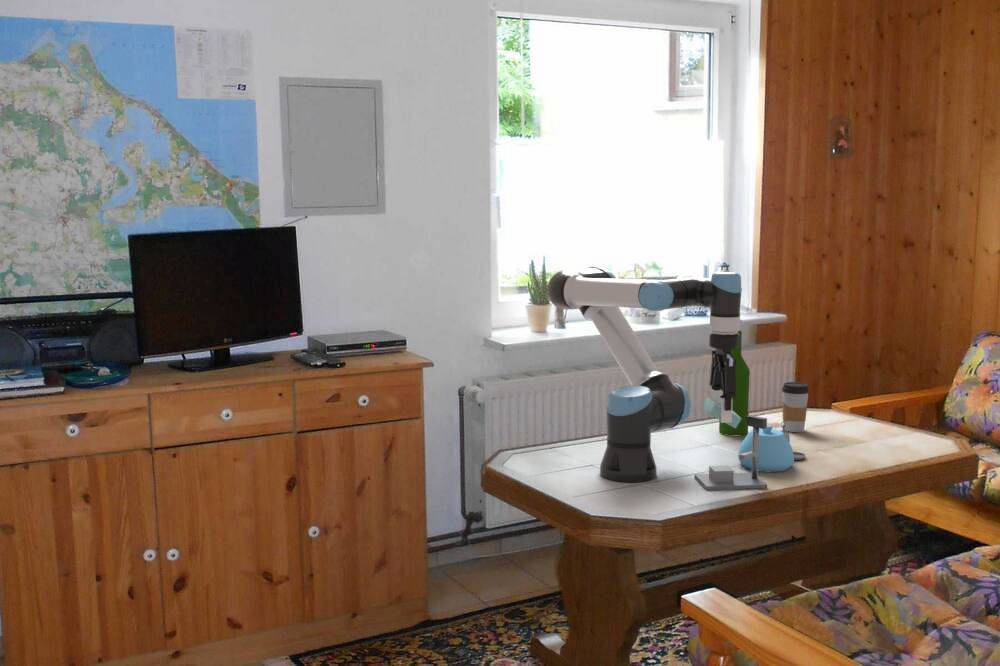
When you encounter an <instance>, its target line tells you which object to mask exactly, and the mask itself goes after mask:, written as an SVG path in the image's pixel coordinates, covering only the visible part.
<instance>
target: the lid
mask: <svg viewBox="0 0 1000 666" xmlns="http://www.w3.org/2000/svg"><path fill="white" fill-rule="evenodd" d="M701 408H702V409H703V410H705V412H706V413H708V415H710V416H711V417H713V418H715V419H717V420H721V404H719V403H717V402H716V401H714V400H712V398H711V397H707V398H706V400H705V401H704V402H703V404H702V406H701ZM741 419H742V418H740V417H739V416H738V415H737V414H736V413H735V412H734V411H732V423H726V424H728V425H730V426H732V427H734V428H736V427H737V426H738V424H739V422H740V421H741Z"/></svg>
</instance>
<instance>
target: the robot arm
mask: <svg viewBox="0 0 1000 666" xmlns="http://www.w3.org/2000/svg"><path fill="white" fill-rule="evenodd" d="M742 291H743V289H742V276H741V274H740V273H739V272H733V271H715V272H713V273H712V274H711V278H705V277H697V276H696V277H694V276H691V275H688V276H684V275H683V276H677V277H676V278H674V279H663V280H662V279H631V278H630V279H629V278H624V279H623V278H616V276H615V275H614V273H613V272H612V271H610V270H609V269H607V268H605V267H598V266H597V267H596V266H590V267H587V268H573V269H572V268H570V269H569V268H568V269H563V270H560V271H557V272H556V273H555V274H553V275H552V276H551V278H550V279H549V280H548V284H547V289H546V293H547V296H548V299H549V301H550V302H551V304H552V305H554V306H555V307H556V308H557V309H560V310H569V311H570V310H578V309H579V311H580V313H581V315H582V316H583V318H584V319H585V321H592V323H593V324H594V326H595V328H596V329H597V330H598V333H599V334H600V336H601V338H602V340H603V341H604V343H605V344H606V346H607V348H608V349H609V351H610V353H611V354H612V356H613V357H614V359H615V361H616V363H617V364H618V366H619V367H620V370H621V371H622V372H623V374H624V376H625V377H626V379H627V381H628V382H629V384H630V385H629V386H621V387H620V386H619V387H617V388H616V389H613V390H612V391H610V393H609V394H608V397H607V405H606V411H607V412H606V422H607V423H606V424H607V425H606V448H605V450H604V454H603V456H602V460H601V463H600V468H599V475H600V476H601V477H603V478H605V479H607V480H611V481H615V482H621V483H622V482H624V483H640V482H641V483H642V482H647V481H652V480H653V479H655V478H656V477H657V471H658V470H657V469H658V467H657V464H656V461H655V458H654V455H653V452H652V448H651V444H652V443H651V440H652V439H651V437H652V436H651V435H652V433H655V432H658V431H662V430H663V431H664V430H667V429H673V428H675V427H677V426H680V425H682V424H684V423H685V422H686V420H688V418H689V415H690V412H691V407H692V402H691V396H690V394H689V392H688V391H687V389H686V388H685V387H684V386H683V385H681V384H678V383H673V382H672V380H671V378H670V377H669V376H668V375H667V373H666V372H660V371H659V370H658V368H657V366H656V365H655V364H654V362H653V361H652V359H651V357H650V355H649V354H648V352H647V351H646V349H645V347H644V346H643V344H642V342H641V341H640V340H639V338H638V336H637V335H636V333H635V331H634V330H633V328H632V326H631V325H630V323H629V321H628V320H627V318H626V317H625V314H623V312H622V311H621V309H620V308H633V309H646V310H648V311H650V312H651V311H652V312H658V311H659V312H661V311H662V312H663V311H664V310H672V309H679V308H687V307H689V308H690V307H703V308H709V310H710V311H709V312H710V314H709V330H710V332H709V343H708V344H709V345H708V346H709V347H711V348H712V350H711V366H710V367H711V368H710V377H709V386H711V399H712V400H714V401H716V402H717V403H719V404H721V423H732V404H733V397H736V369H735V367H736V358H733V355H732V349H735V348H738V347H739V334H738V333H737V332H738V331H740V327H741V326H740V325H741V323H742V319H741V301H742V300H741V299H742ZM720 389H722V390H720Z"/></svg>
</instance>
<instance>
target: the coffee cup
mask: <svg viewBox="0 0 1000 666" xmlns="http://www.w3.org/2000/svg"><path fill="white" fill-rule="evenodd" d="M781 388H782V389H781V395H782V396H781V397H782V404H781V405H782V422H783V423H782V426H783V425H785V423H786V426H785V428H784V429H785V430H787V431H789V432H788V433H792V432H800V433H803V432H804V430H805V424H806V420H807V410H808V401H809V400H808V399H809V393H810V388H809V385H808V384H807V383H803V382H797V381H789V382H784V383H783V385H782V387H781ZM784 422H785V423H784ZM802 431H803V432H802Z"/></svg>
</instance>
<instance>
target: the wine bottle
mask: <svg viewBox="0 0 1000 666" xmlns="http://www.w3.org/2000/svg"><path fill="white" fill-rule="evenodd" d="M742 332H743V331H742V330H739V331H738V332H737V333H738V334H739V347H738V348H735V349H732V355H733V358H736V367H735V369H736V397H733V404H732V411H734V412H735V413H736V414H737V415H738V416H739V417H740V418H742V419H741V421H740V422H739V424H738V426H737V427H736V428H734V427H732V426H730V425H728V424H726V423H721V420H719V419H718V420H719V424H718V426H719V427H718V432H719V433H720V434H721V433H722V434H721V435H723V434H727V435H726V436H728V435H744V436H747V435H748V433H749V426H746V416H749V415H750V392H751V389H750V387H751V371H750V368H749V366H748V365H747V363H746V361H745V359H744V358H743V355H742V336H743V334H742ZM720 390H722V389H720ZM746 434H747V435H746Z"/></svg>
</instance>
